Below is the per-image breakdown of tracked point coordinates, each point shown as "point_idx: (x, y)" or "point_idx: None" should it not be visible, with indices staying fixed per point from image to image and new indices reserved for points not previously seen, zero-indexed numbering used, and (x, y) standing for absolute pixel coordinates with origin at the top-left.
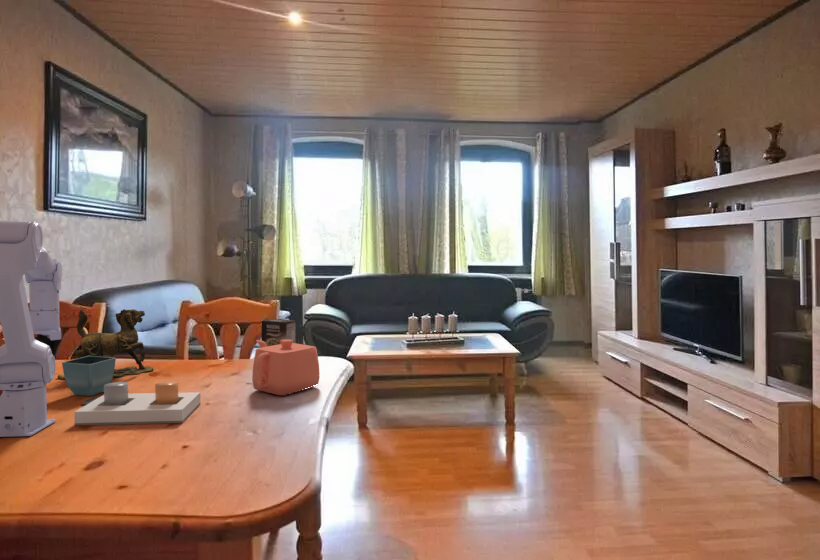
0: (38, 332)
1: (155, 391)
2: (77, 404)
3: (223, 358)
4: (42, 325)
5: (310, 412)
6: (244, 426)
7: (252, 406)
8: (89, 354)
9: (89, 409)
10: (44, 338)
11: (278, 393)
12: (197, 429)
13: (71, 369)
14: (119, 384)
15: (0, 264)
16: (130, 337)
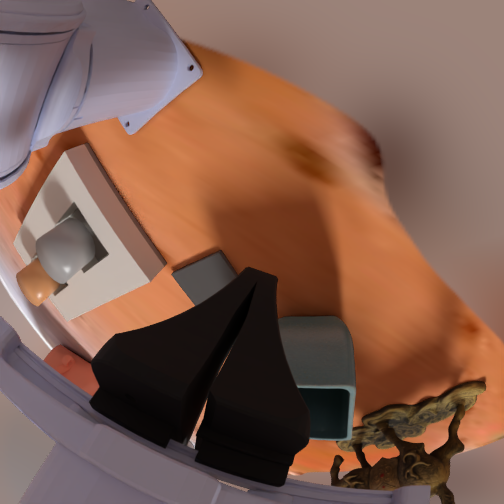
0: (40, 405)
1: (33, 270)
2: (240, 255)
3: (292, 474)
4: (38, 472)
5: (18, 301)
6: (4, 248)
7: (47, 311)
8: (423, 451)
9: (61, 177)
10: (107, 395)
11: (59, 346)
12: (9, 222)
13: (310, 366)
14: (48, 263)
15: None
16: None
